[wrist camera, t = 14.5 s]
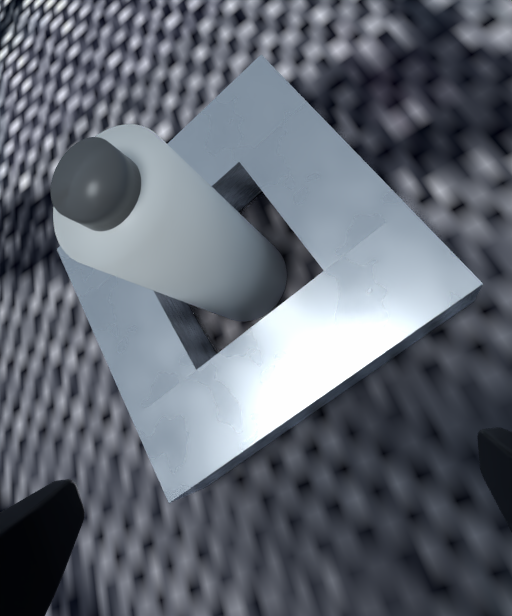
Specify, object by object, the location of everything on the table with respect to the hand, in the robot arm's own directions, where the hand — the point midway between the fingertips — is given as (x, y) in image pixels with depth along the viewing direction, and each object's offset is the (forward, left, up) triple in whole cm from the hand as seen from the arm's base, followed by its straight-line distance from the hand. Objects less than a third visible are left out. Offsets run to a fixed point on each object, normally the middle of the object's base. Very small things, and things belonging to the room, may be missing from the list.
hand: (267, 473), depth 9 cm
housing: (+9, -2, -10) cm, 13 cm away
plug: (+9, -2, -10) cm, 13 cm away
